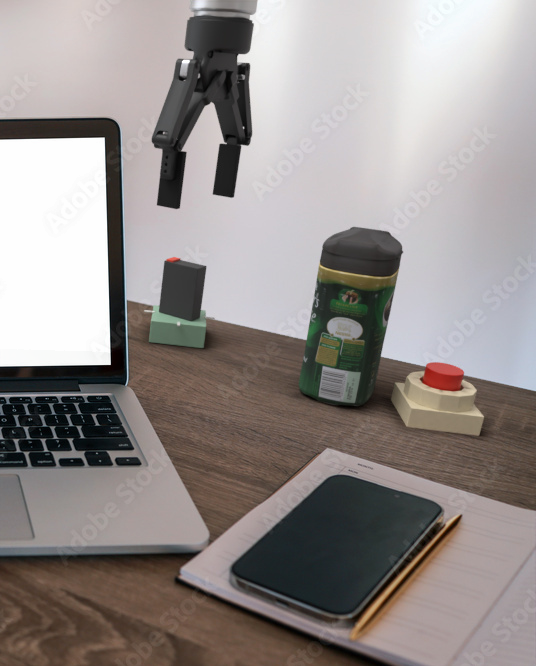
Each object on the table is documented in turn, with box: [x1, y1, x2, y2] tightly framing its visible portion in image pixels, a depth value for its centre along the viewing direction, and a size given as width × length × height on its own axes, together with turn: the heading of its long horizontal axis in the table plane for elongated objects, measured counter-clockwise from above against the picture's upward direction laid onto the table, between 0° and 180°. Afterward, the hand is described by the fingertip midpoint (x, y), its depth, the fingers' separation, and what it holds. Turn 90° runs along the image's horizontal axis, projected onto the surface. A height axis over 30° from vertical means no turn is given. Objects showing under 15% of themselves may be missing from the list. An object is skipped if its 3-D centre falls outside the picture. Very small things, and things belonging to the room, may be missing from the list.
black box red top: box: [158, 256, 207, 321], centre depth 101 cm, size 5×2×7 cm, turn 49°
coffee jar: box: [298, 226, 404, 407], centre depth 85 cm, size 10×8×19 cm
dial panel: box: [143, 304, 216, 349], centre depth 102 cm, size 9×9×3 cm
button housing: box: [390, 370, 485, 437], centre depth 82 cm, size 7×7×4 cm
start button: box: [422, 361, 465, 392], centre depth 81 cm, size 4×4×2 cm
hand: (197, 201), depth 96 cm, fingers open, 13 cm apart
